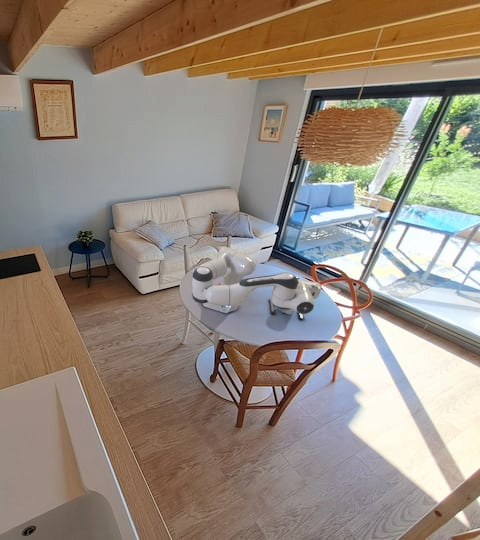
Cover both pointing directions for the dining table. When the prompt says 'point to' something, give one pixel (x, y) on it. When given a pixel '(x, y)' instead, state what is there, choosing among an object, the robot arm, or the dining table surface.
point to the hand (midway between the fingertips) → (296, 277)
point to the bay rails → (273, 310)
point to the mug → (286, 311)
